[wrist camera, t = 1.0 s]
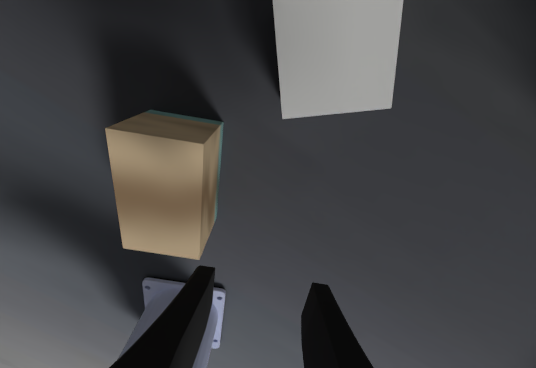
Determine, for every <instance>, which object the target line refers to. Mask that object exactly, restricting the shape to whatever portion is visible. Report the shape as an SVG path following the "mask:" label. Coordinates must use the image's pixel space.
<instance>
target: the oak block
mask: <svg viewBox="0 0 536 368" xmlns="http://www.w3.org/2000/svg"><path fill="white" fill-rule="evenodd" d="M105 131H106V137H107V144H108V151H109V157H110V164H111V171H112V178H113V184H114V191H115V198H116V204H117V211H118V218H119V225H120V231H121V238H122V245H123V248H124V249H131V250H138V251H144V252H151V253H157V254H164V255H171V256H177V257H184V258H191V259H197V260H199V259H200V257H201V254H202V252H203V250H204V247H205V245H206V242H207V240H208V237H209V235H210V232H211V230H212V227H213V225H214V222H215V220H216V217H217V203H218V190H219V176H220V162H221V148H222V135H223V122H221V121H215V120H209V119H203V118H197V117H191V116H185V115H179V114H173V113H167V112H161V111H155V110H149V111H146V112H144V113H141V114H139V115H136V116H134V117H131V118H129V119H126V120H124V121H121V122H119V123H117V124H114V125H112V126H109V127H107V128H105Z"/></svg>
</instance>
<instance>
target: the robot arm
mask: <svg viewBox="0 0 536 368" xmlns="http://www.w3.org/2000/svg"><path fill="white" fill-rule="evenodd" d="M214 276H215V268H213V267H207V266H198V267H197V268H196V270H195V271H194V273H193V274H192V275H191V277H190V278H189V280H188V281H187V282H186V283H182V282H176V281H169V280H162V279H155V278H148V277H147V278H145V279H144V280H143V282H142V286H143V295H144V304H145V310H144V312H143V314H142V316H141V317H140V319H139V321H138V323H137V325H136V327H135V328H134V330H133V332H132V334H131V336H130V338H129V340H128V341H127V343H126V345H125V347H124V349H123V351H122V352H121V354H120V356H119V358H118V360H117V361H116V362H115V363H114V364H113V365H112V366H111V367H110V368H207V364H208V360H209V356H210V351H211V348H214V349H216V348H219V346H220V339H221V330H222V321H223V312H224V304H225V295H226V291H225V290H224V289H222V288H216V287H214ZM301 334H302V351H303V360H304V368H373V366H372V364H371V363H370V361H369V360H368V358H367V356H366V355H365V353H364V351H363V350H362V348H361V346H360V345H359V343H358V341H357V339H356V337H355V336H354V334H353V332H352V330H351V329H350V327H349V325H348V323H347V321H346V319H345V318H344V316H343V314H342V312H341V310H340V308H339V306H338V304H337V302H336V300H335V298H334V296H333V294H332V292H331V290H330V288H329V286H328V285H325V284H319V283H312V285H311V288H310V291H309V294H308V297H307V300H306V303H305V306H304V309H303V312H302V315H301Z"/></svg>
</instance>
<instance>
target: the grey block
mask: <svg viewBox="0 0 536 368" xmlns="http://www.w3.org/2000/svg"><path fill="white" fill-rule="evenodd" d="M402 7H403V0H273V11H274V23H275V35H276V47H277V59H278V72H279V84H280V96H281V108H282V119H287V118H297V117H308V116H318V115H328V114H338V113H348V112H358V111H369V110H379V109H389V108H391V106H392V97H393V88H394V79H395V70H396V61H397V52H398V43H399V34H400V25H401V16H402Z"/></svg>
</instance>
